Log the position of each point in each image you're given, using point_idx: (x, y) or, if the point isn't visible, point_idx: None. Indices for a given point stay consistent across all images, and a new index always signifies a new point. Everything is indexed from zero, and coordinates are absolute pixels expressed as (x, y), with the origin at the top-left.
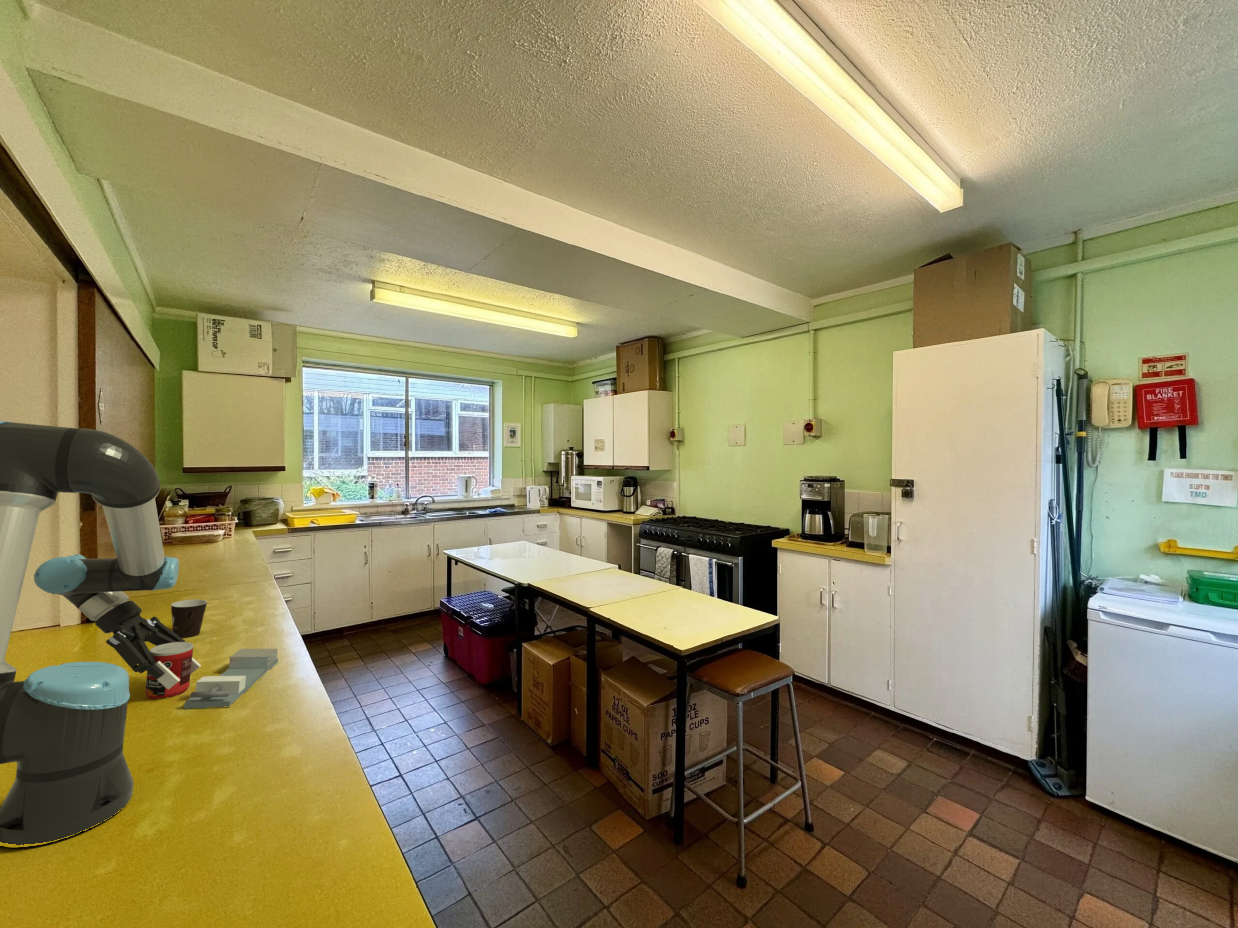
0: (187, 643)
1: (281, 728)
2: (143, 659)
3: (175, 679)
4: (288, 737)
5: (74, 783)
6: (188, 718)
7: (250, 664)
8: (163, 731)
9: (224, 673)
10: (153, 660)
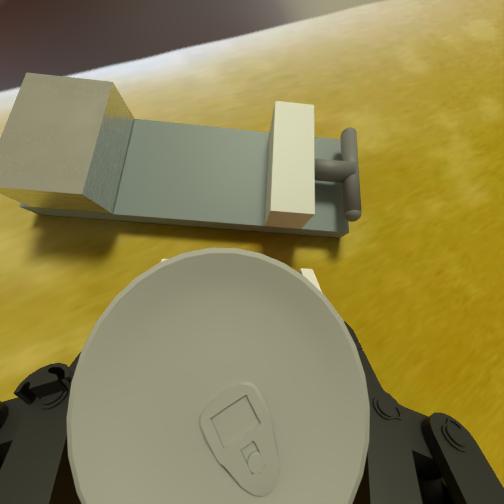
0: (124, 317)
1: (418, 52)
2: (469, 478)
3: (315, 278)
4: (445, 39)
5: None
6: (385, 208)
7: (118, 150)
8: (440, 230)
9: (155, 211)
10: (384, 410)
